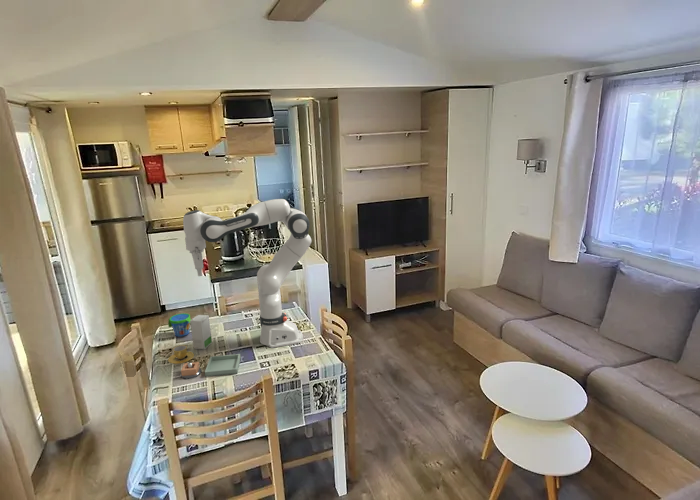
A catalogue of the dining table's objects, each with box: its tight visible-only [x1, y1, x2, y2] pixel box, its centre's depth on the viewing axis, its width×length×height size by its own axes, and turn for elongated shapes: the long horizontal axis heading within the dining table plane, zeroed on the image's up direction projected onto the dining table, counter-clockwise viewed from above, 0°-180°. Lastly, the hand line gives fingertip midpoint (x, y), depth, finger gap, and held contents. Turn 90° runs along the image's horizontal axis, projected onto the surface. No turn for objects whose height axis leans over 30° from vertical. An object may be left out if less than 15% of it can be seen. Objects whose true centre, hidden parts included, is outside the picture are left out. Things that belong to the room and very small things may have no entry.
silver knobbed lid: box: [179, 361, 202, 380], centre depth 194 cm, size 9×9×5 cm
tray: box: [204, 353, 242, 378], centre depth 199 cm, size 14×14×2 cm
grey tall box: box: [190, 314, 213, 350], centre depth 218 cm, size 8×7×16 cm
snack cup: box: [167, 312, 192, 338], centre depth 233 cm, size 16×11×10 cm
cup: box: [167, 344, 195, 365], centre depth 208 cm, size 12×12×5 cm
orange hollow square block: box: [180, 361, 201, 376], centre depth 194 cm, size 6×6×3 cm
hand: (199, 272), depth 205 cm, fingers open, 8 cm apart
